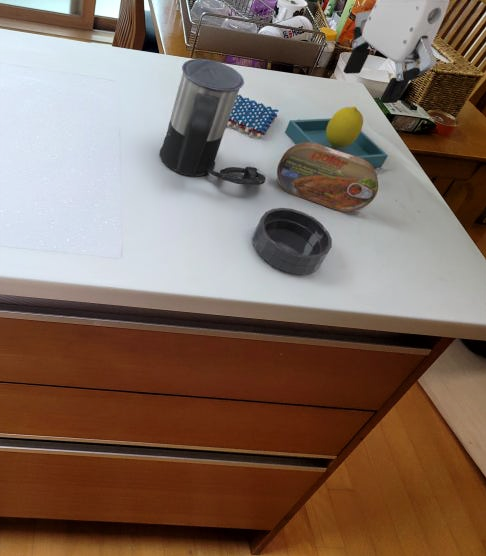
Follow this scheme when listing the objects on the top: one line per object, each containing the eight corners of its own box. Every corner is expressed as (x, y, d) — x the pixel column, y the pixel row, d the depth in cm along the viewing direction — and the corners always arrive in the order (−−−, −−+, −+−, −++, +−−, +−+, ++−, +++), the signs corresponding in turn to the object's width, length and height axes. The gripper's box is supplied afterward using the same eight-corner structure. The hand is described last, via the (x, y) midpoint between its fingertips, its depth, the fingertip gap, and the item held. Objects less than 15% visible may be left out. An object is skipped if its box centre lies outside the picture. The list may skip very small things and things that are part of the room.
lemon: (355, 152, 98) (377, 112, 93) (335, 159, 96) (357, 118, 90) (331, 136, 101) (352, 96, 95) (312, 142, 98) (332, 101, 93)
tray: (341, 128, 105) (347, 117, 103) (381, 167, 97) (388, 155, 96) (284, 132, 100) (289, 120, 98) (321, 172, 93) (328, 160, 91)
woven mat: (224, 97, 106) (228, 88, 104) (276, 118, 103) (280, 108, 102) (206, 119, 99) (209, 109, 97) (261, 142, 96) (265, 132, 95)
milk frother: (155, 140, 91) (176, 54, 80) (243, 148, 94) (276, 66, 83) (169, 195, 82) (195, 105, 71) (267, 201, 84) (307, 116, 74)
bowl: (296, 222, 82) (305, 204, 80) (334, 270, 76) (346, 252, 73) (239, 230, 79) (247, 211, 76) (274, 280, 73) (285, 262, 70)
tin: (268, 186, 87) (289, 141, 81) (271, 176, 90) (292, 131, 84) (361, 219, 85) (389, 176, 79) (362, 208, 87) (389, 165, 81)
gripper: (491, -2, 73) (421, 113, 86) (405, -46, 84) (354, 62, 96) (450, -4, 71) (385, 115, 83) (367, -49, 82) (320, 62, 94)
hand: (368, 86), depth 90 cm, fingers open, 9 cm apart
